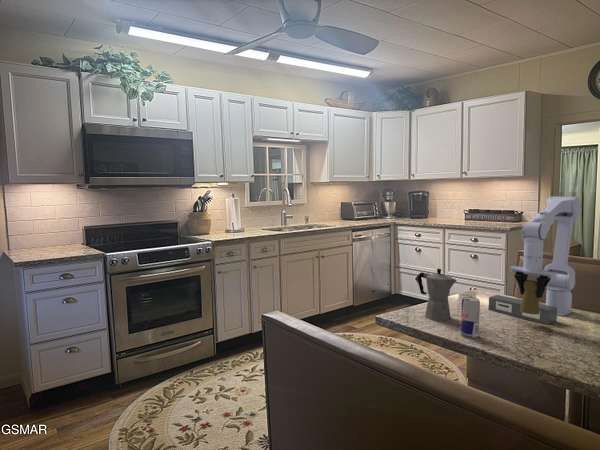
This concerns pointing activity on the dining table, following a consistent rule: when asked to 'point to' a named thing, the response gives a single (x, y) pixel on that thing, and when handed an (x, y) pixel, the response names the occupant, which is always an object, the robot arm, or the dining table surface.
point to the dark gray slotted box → (513, 308)
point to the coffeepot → (437, 294)
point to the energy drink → (470, 317)
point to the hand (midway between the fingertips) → (531, 295)
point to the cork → (530, 298)
